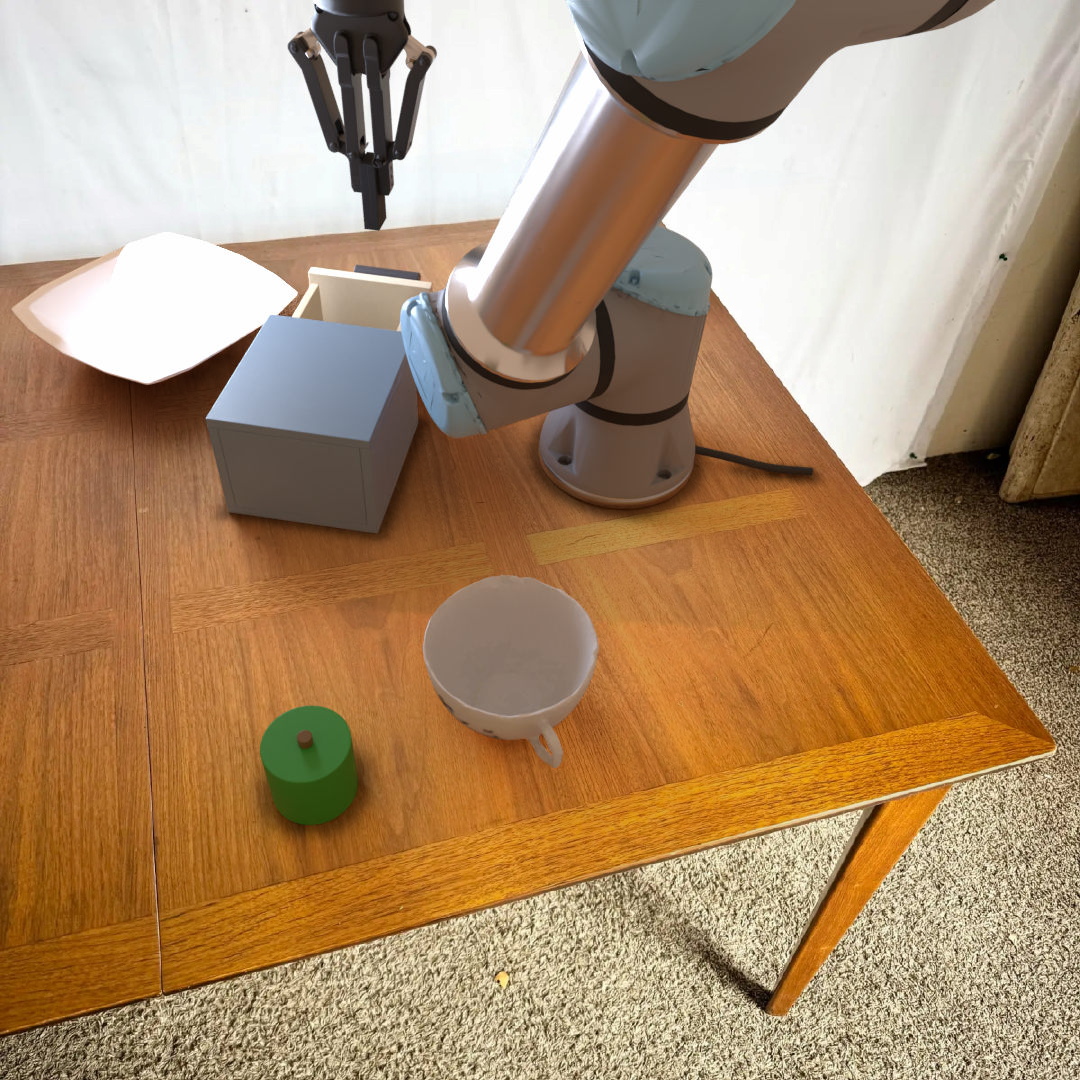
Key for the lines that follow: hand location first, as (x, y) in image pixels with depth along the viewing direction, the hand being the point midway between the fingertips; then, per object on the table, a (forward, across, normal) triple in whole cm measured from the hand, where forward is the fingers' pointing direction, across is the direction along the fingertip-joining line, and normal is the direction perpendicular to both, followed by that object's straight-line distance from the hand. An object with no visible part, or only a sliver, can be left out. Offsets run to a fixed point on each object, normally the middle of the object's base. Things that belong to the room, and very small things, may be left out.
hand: (375, 223), depth 95 cm
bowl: (+15, +22, +5) cm, 27 cm away
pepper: (+15, -9, +53) cm, 55 cm away
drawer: (+14, 0, +6) cm, 15 cm away
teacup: (+15, -22, +44) cm, 52 cm away
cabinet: (+15, 0, +20) cm, 25 cm away
